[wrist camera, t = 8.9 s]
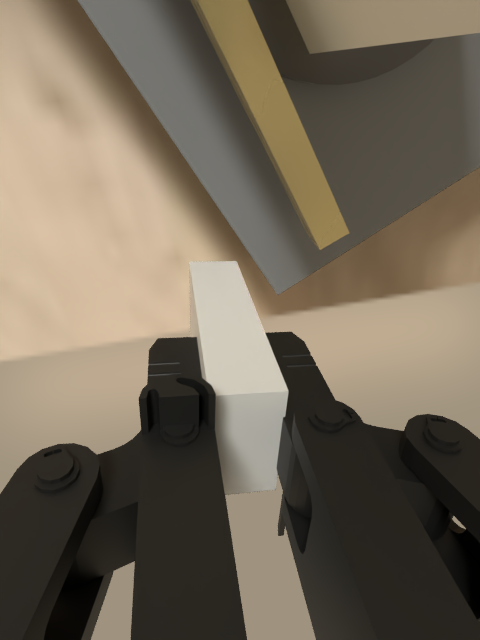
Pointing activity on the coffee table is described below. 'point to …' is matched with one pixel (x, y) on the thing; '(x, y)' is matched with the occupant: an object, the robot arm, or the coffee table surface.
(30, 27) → the coffee table surface
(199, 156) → the socket
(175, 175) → the coffee table surface
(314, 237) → the tan long thin stick
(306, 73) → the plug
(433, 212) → the coffee table surface
